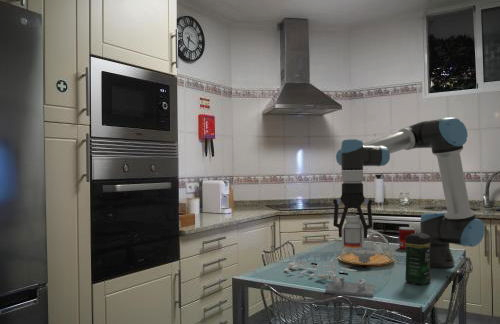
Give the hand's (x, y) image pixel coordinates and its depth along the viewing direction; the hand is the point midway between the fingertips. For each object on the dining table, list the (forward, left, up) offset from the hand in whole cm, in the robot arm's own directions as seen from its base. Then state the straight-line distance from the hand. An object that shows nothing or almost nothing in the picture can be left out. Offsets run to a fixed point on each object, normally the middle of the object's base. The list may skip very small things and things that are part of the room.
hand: (353, 246), depth 144 cm
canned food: (-20, -85, -16) cm, 89 cm away
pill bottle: (0, 0, -1) cm, 1 cm away
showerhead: (-1, -38, -16) cm, 41 cm away
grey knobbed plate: (+1, 0, -15) cm, 15 cm away
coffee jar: (-22, -18, -16) cm, 33 cm away
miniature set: (+17, -16, -15) cm, 28 cm away
